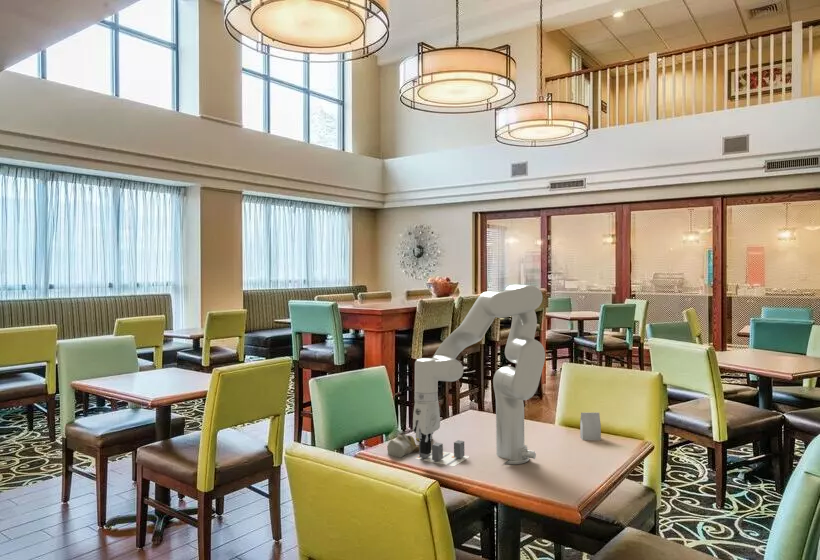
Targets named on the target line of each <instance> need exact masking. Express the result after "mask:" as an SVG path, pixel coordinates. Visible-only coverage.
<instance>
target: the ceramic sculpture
mask: <svg viewBox="0 0 820 560" xmlns="http://www.w3.org/2000/svg"><path fill="white" fill-rule="evenodd" d="M386 446H387V449H386V450H387V454H388V456H392V457H396V458H397V457H398V458H399V457H401V458H403V457H404V456H406V455H408V454H411V453H418V452H419V444H418V445H417V444H416V441H415V437H413V436H412V435H411V434H406V432H404V431H402V432H400V433H399V434H397V436H396V438H395V440H389V442H388V444H387V445H386Z"/></svg>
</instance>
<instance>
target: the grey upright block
mask: <svg viewBox="0 0 820 560" xmlns="http://www.w3.org/2000/svg"><path fill="white" fill-rule="evenodd" d="M600 415H601V414H600V412H580V420H579V424H580V425H579V427H580V429H579V433H580V435H579V437H580V439H581V440H582V441H601V440H602V431H601V430H602V429H601V428H602V425H601V424H602V423H601V416H600Z"/></svg>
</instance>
